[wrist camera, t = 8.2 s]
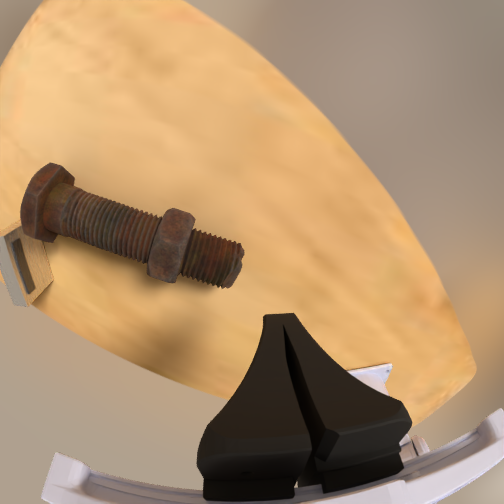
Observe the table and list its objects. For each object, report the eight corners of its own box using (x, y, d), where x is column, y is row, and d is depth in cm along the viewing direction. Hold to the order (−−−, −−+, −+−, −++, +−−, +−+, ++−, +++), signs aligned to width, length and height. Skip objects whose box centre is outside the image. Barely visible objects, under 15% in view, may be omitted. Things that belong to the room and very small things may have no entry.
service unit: (56, 281, 20) (30, 309, 16) (40, 280, 20) (15, 307, 16) (38, 215, 17) (5, 235, 13) (22, 218, 17) (-10, 237, 13)
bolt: (232, 252, 22) (64, 196, 18) (256, 211, 18) (57, 148, 15) (219, 321, 18) (29, 252, 15) (244, 290, 14) (8, 207, 11)
